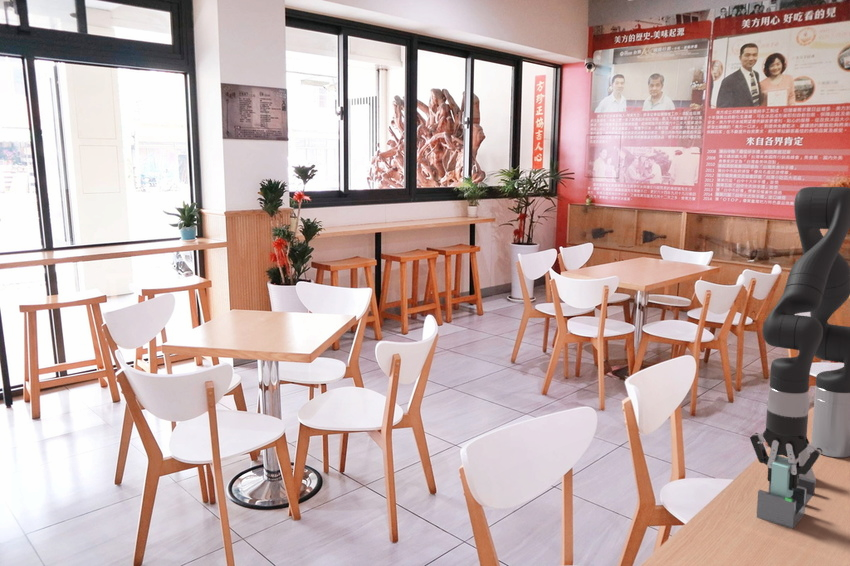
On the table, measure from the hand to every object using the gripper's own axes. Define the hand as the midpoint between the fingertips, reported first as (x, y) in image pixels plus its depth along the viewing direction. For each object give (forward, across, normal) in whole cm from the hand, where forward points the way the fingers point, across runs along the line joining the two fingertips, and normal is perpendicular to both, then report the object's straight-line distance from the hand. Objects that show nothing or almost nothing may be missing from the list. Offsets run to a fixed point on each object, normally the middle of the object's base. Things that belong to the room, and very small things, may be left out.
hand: (782, 485), depth 139 cm
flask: (+8, +2, -20) cm, 22 cm away
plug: (+2, 0, 0) cm, 2 cm away
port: (+7, 0, 0) cm, 7 cm away
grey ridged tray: (+7, 0, -11) cm, 13 cm away
